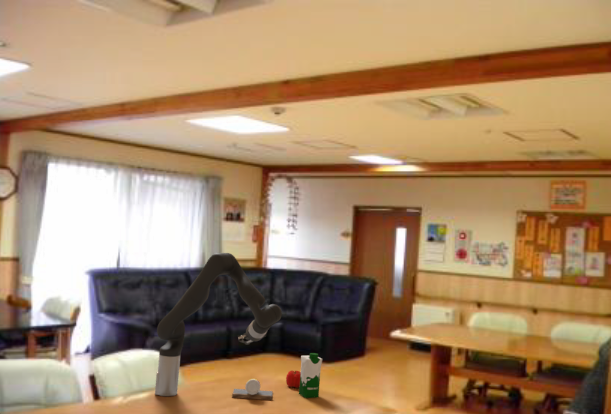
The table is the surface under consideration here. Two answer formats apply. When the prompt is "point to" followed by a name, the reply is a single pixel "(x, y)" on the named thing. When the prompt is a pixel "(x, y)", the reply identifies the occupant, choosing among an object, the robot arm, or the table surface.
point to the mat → (243, 391)
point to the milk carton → (310, 376)
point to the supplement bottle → (252, 386)
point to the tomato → (293, 379)
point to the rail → (251, 396)
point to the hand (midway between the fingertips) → (246, 342)
